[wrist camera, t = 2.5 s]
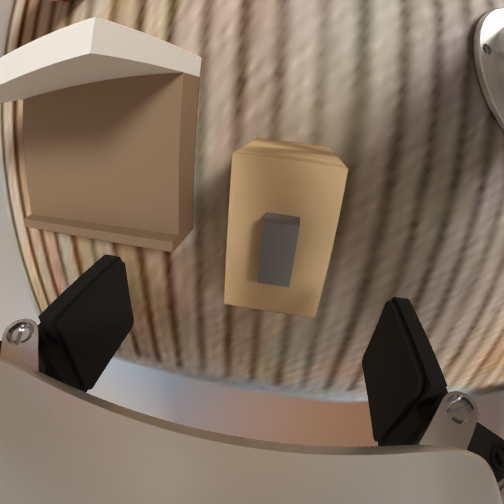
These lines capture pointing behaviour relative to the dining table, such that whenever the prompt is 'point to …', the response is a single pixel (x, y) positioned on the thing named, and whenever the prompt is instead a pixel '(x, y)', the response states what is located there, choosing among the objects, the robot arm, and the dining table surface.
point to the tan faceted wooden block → (281, 225)
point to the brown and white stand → (107, 132)
